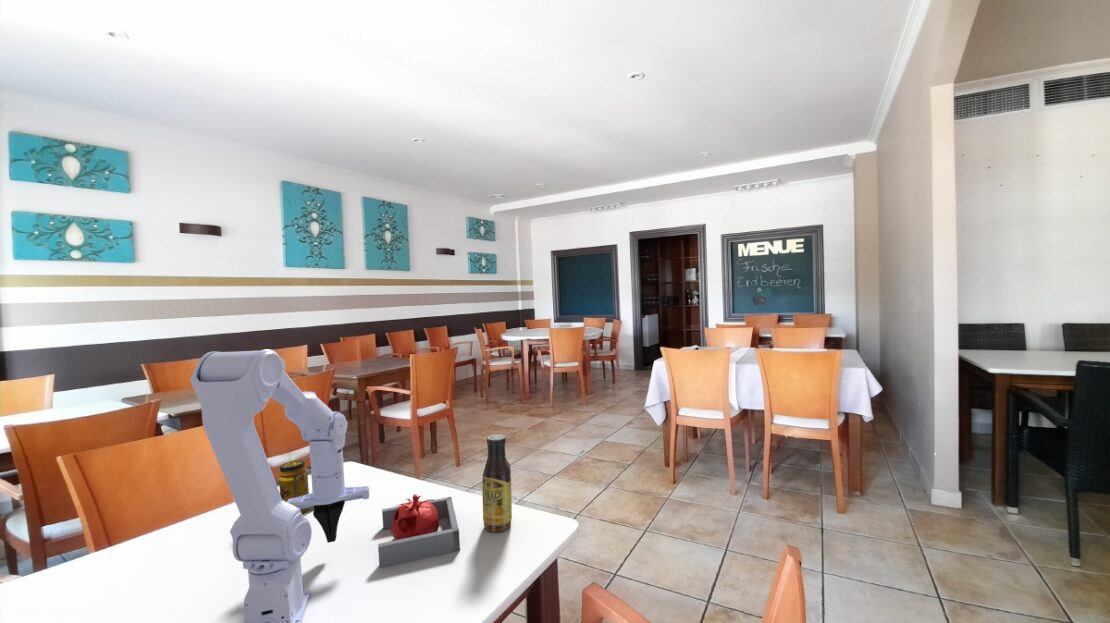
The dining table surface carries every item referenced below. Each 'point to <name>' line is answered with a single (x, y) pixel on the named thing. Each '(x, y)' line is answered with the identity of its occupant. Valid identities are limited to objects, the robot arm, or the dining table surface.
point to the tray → (420, 538)
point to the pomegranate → (414, 519)
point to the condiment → (294, 482)
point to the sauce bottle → (497, 486)
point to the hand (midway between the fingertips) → (332, 539)
